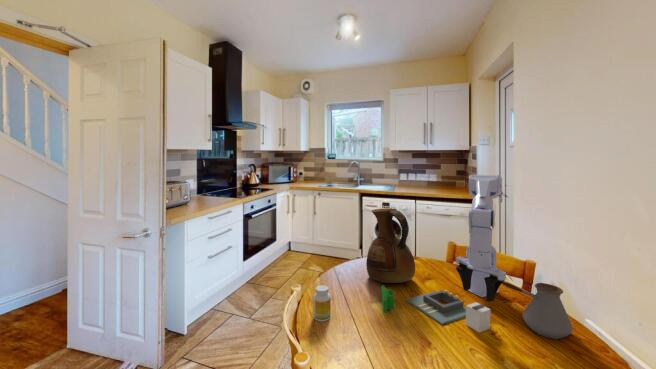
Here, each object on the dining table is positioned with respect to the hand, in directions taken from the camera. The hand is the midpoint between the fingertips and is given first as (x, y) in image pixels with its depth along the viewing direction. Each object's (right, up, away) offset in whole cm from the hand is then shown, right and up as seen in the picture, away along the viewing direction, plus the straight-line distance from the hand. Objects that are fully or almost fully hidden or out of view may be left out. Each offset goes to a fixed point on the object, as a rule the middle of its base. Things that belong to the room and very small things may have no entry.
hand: (478, 294), depth 82 cm
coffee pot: (+14, -10, -1) cm, 17 cm away
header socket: (-7, -9, +12) cm, 16 cm away
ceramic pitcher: (-18, -7, +34) cm, 39 cm away
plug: (0, -10, +1) cm, 10 cm away
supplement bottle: (-46, -10, +6) cm, 48 cm away
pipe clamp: (-24, -9, +13) cm, 29 cm away
